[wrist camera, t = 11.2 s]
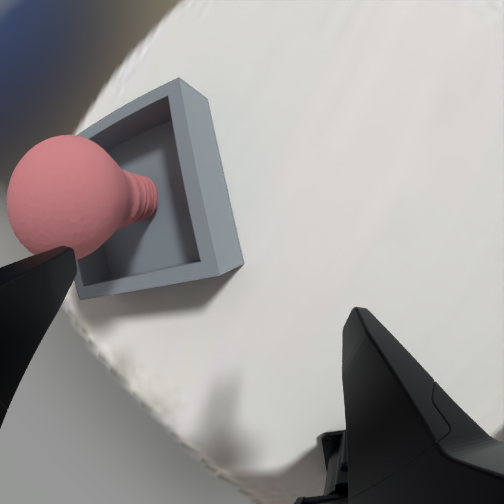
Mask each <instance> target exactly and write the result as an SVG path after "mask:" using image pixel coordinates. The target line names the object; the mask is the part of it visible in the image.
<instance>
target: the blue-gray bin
mask: <svg viewBox="0 0 504 504" xmlns="http://www.w3.org/2000/svg"><path fill="white" fill-rule="evenodd" d="M76 136H80V137H84V138H87V139H89V140H91V141H93V142H95V143H96V144H98V145H99V146H100V147H102V148H103V149H104V150H105V151H106V152H107V153H108V154H109V155H110V156H111V157H112V158H113V160H114V161H115V162H116V163H117V164H118V166H119V167H120V168H121V169H122V170H126V171H128V172H130V173H132V174H133V173H134V174H138V175H141V176H146V177H148V178H150V179H151V180H152V181H153V182H154V184H155V186H156V188H157V192H158V202H157V206H156V209H155V211H154V213H153V214H152V215H151V216H150V217H149V218H148V219H146V220H144V221H140V222H137V223H134V224H129V225H127V226H126V227H123V228H118V229H117V230H116V231H115V232H114V233H113V235H112V236H111V237H110V238H108V239H107V240H106V241H105V242H104V243H103V244H102V245H101V246H100V247H99V248H98V249H97V250H95V251H94V252H92V253H91V254H89V255H87V256H85V257H83V258H80V259H78V260H76V265H77V274H76V277H75V279H74V280H75V284H76V288H77V292H78V296H79V299H80V300H84V299H90V298H96V297H102V296H108V295H114V294H119V293H125V292H131V291H137V290H143V289H148V288H154V287H160V286H165V285H171V284H176V283H182V282H188V281H193V280H199V279H204V278H209V277H215V276H220V275H222V274H224V273H226V272H228V271H230V270H232V269H234V268H236V267H239V266H241V265H243V264H244V260H243V256H242V252H241V247H240V243H239V239H238V234H237V230H236V225H235V221H234V217H233V212H232V208H231V203H230V199H229V194H228V190H227V185H226V181H225V176H224V172H223V167H222V163H221V158H220V154H219V149H218V145H217V140H216V136H215V131H214V126H213V122H212V117H211V113H210V108H209V103H208V99H207V98H206V97H205V96H203V95H202V94H201V93H199V92H198V91H197V90H195V89H194V88H193V87H191V86H190V85H189V84H188V83H186V82H185V81H183V80H182V79H181V78H177V79H174V80H172V81H170V82H168V83H166V84H164V85H162V86H160V87H158V88H156V89H154V90H152V91H150V92H148V93H146V94H144V95H142V96H141V97H139V98H137V99H135V100H133V101H131V102H130V103H128V104H126V105H124V106H123V107H121V108H119V109H117V110H116V111H114V112H112V113H111V114H109V115H107V116H106V117H104V118H102V119H101V120H99V121H98V122H96V123H95V124H93V125H91V126H90V127H88V128H87V129H85V130H84V131H82V132H81V133H79V134H78V135H76Z"/></svg>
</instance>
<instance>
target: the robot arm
mask: <svg viewBox="0 0 504 504" xmlns="http://www.w3.org/2000/svg"><path fill="white" fill-rule="evenodd" d="M76 274H77V265H76V258H75V252H74V250H73V248H71V247H68V246H59V247H56V248H53V249H51V250H48V251H45V252H42V253H39V254H36V255H33V256H31V257H28V258H25V259H22V260H20V261H17V262H14V263H12V264H9V265H6V266H4V267H1V268H0V428H1V425H2V423H3V420H4V417H5V415H6V413H7V409H8V408H9V405H10V403H11V401H12V398H13V396H14V394H15V392H16V390H17V387H18V385H19V383H20V381H21V379H22V377H23V375H24V373H25V371H26V369H27V367H28V365H29V363H30V361H31V359H32V357H33V355H34V353H35V351H36V350H37V348H38V346H39V344H40V342H41V340H42V339H43V337H44V335H45V333H46V331H47V329H48V328H49V326H50V324H51V323H52V321H53V319H54V318H55V316H56V314H57V312H58V311H59V309H60V307H61V305H62V303H63V301H64V299H65V296H66V294H67V292H68V290H69V288H70V286H71V285H72V283H73V281H74V279H75V277H76ZM342 380H343V392H344V405H345V419H346V431H337V432H328V433H325V434H323V436H322V444H323V451H324V457H325V463H326V470H327V477H326V483H325V489H324V494H323V496H316V497H307V498H306V497H298V498H297V500H296V501H295V503H294V504H504V443H503V442H500V441H497V440H495V439H493V438H492V437H490V436H489V435H488V434H487V433H486V432H485V431H484V430H483V429H482V428H481V427H480V426H479V425H478V424H477V423H476V422H475V421H474V420H473V419H472V418H470V417H469V416H468V415H467V414H466V413H465V412H464V411H463V410H462V409H461V408H460V407H459V406H458V405H457V404H456V403H455V402H454V401H453V400H452V399H451V398H450V397H449V395H448V394H447V393H446V392H445V391H444V390H443V389H442V388H441V387H440V386H439V385H438V383H437V382H434V379H433V378H432V377H431V376H430V375H429V374H428V373H427V371H426V370H425V369H424V368H423V367H422V366H421V365H420V364H419V363H418V362H417V361H416V360H415V358H414V357H413V356H412V355H411V354H410V353H409V352H408V351H407V350H406V349H405V348H404V347H403V346H402V345H401V344H400V342H399V341H398V340H397V339H396V338H395V337H394V336H393V335H392V334H391V333H390V332H389V331H388V330H387V329H386V328H385V327H384V326H383V325H382V324H381V323H380V322H379V321H378V320H377V319H376V317H375V316H374V315H373V314H372V313H371V312H370V311H369V310H368V309H366V308H360V307H354V308H353V309H352V311H351V313H350V315H349V317H348V319H347V321H346V323H345V325H344V328H343V348H342ZM327 437H329V439H327Z"/></svg>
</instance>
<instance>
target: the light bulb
mask: <svg viewBox="0 0 504 504" xmlns="http://www.w3.org/2000/svg"><path fill="white" fill-rule="evenodd" d="M157 202H158V192H157V188H156V186H155V184H154V182H153V181H152V180H151V179H150V178H148V177H146V176H141V175H138V174H134V173H133V174H132V173H130V172H128V171H126V170H122V169H121V168H120V167H119V166H118V164H117V163H116V162H115V161H114V160H113V158H112V157H111V156H110V155H109V154H108V153H107V152H106V151H105V150H104V149H103V148H102V147H100V146H99V145H98V144H96V143H95V142H93V141H91V140H89V139H87V138H84V137H80V136H74V135H62V136H56V137H52V138H49V139H47V140H45V141H43V142H41V143H39V144H37V145H36V146H34V147H33V148H32V149H31V150H30V151H28V152H27V153H26V154H25V156H24V157H23V158H22V159H21V160H20V162H19V163H18V165H17V166H16V168H15V170H14V172H13V174H12V177H11V180H10V183H9V187H8V192H7V211H8V217H9V221H10V224H11V227H12V229H13V231H14V233H15V235H16V237H17V238H18V239H19V241H20V242H21V244H23V245H24V246H25V247H26V248H27V249H28V250H29V251H30V252H31V253H33V254H34V255H36V254H39V253H42V252H45V251H48V250H51V249H53V248H56V247H59V246H68V247H71V248H73V250H74V252H75V258H76V260H78V259H80V258H83V257H85V256H87V255H89V254H91V253H92V252H94V251H95V250H97V249H98V248H99V247H100V246H101V245H102V244H103V243H104V242H105V241H106V240H107V239H108V238H110V237H111V236H112V235H113V233H114V232H115V231H116V230H117V229H118V228H123V227H126V226H127V225H129V224H134V223H137V222H140V221H144V220H146V219H148V218H149V217H150V216H151V215H152V214H153V213H154V211H155V209H156V206H157Z"/></svg>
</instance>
